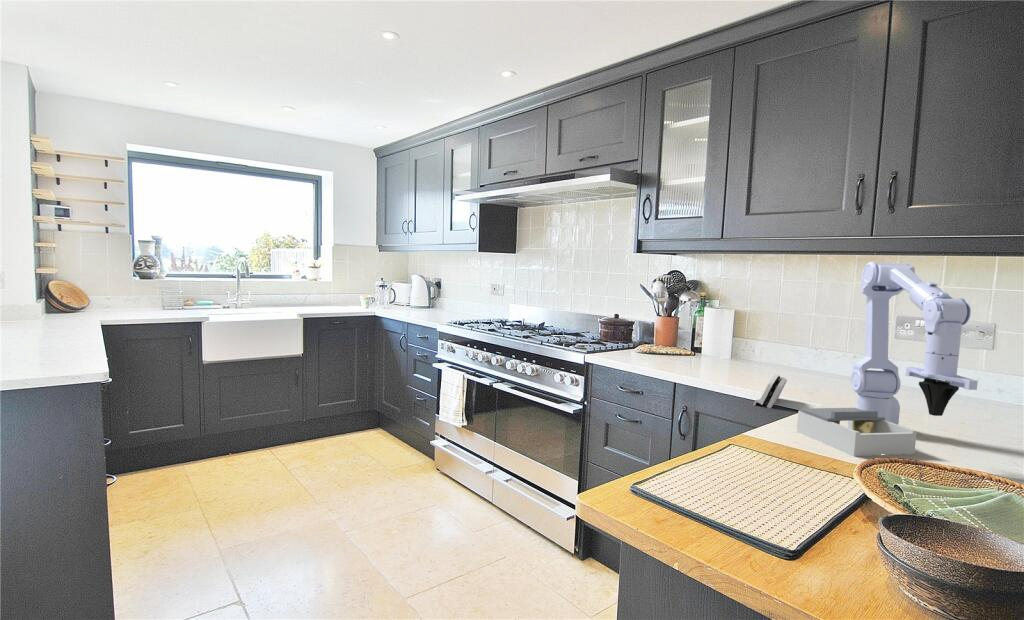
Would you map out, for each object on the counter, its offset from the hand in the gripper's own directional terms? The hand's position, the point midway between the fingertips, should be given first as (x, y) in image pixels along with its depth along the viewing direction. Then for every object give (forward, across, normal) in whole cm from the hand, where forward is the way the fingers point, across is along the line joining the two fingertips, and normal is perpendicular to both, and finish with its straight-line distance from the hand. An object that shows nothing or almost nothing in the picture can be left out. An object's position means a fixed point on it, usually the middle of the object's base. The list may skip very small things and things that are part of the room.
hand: (935, 415), depth 118 cm
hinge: (+11, -51, -2) cm, 53 cm away
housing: (+10, -13, -8) cm, 18 cm away
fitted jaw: (+10, -14, -4) cm, 18 cm away
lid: (+5, -17, -8) cm, 19 cm away
